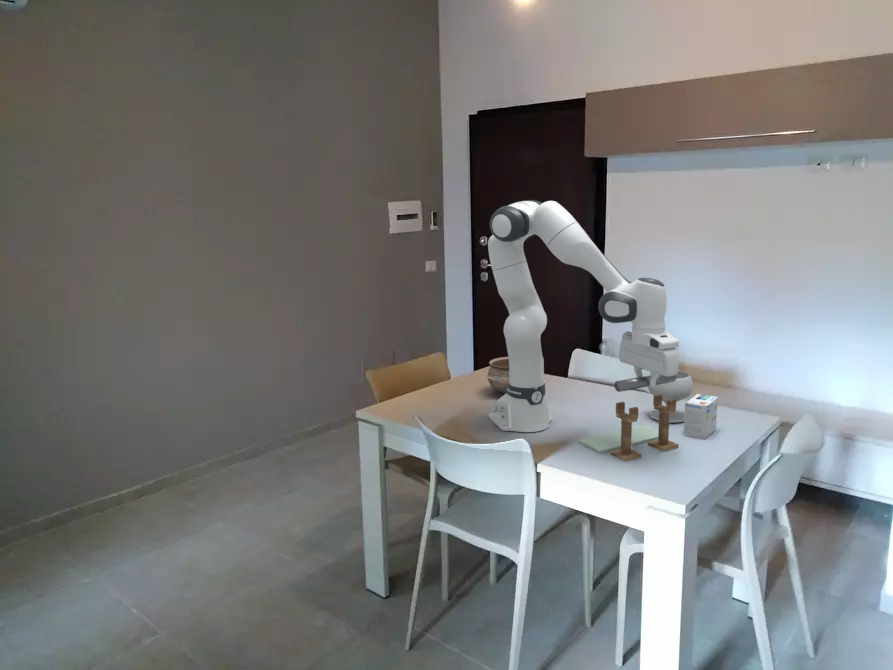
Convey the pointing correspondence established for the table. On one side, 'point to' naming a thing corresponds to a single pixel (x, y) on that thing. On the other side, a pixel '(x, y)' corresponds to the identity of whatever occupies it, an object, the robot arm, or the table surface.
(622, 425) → the hook stands
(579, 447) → the table surface
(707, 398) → the light bulb box
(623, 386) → the rail
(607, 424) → the table surface
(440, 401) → the table surface
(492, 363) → the cooking pot
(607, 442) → the mat
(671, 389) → the chalice
